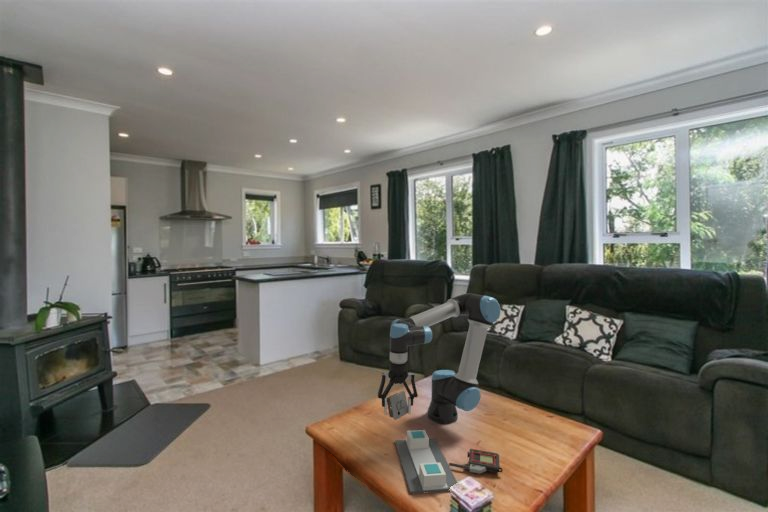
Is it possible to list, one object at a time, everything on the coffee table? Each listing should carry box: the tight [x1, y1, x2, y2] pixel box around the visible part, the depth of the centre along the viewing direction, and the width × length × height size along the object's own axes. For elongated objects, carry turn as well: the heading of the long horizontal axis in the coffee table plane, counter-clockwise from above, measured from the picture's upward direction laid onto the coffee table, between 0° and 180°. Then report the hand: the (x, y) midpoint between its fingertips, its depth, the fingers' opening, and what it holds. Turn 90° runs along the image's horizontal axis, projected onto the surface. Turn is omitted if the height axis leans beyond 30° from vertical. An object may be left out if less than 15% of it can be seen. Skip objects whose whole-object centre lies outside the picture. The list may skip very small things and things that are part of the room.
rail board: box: [394, 429, 458, 494], centre depth 140 cm, size 18×32×6 cm, turn 8°
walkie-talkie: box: [448, 448, 503, 475], centre depth 139 cm, size 9×4×20 cm
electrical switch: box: [386, 390, 408, 421], centre depth 149 cm, size 9×5×9 cm, turn 140°
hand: (397, 413), depth 149 cm, fingers closed on electrical switch, 9 cm apart
